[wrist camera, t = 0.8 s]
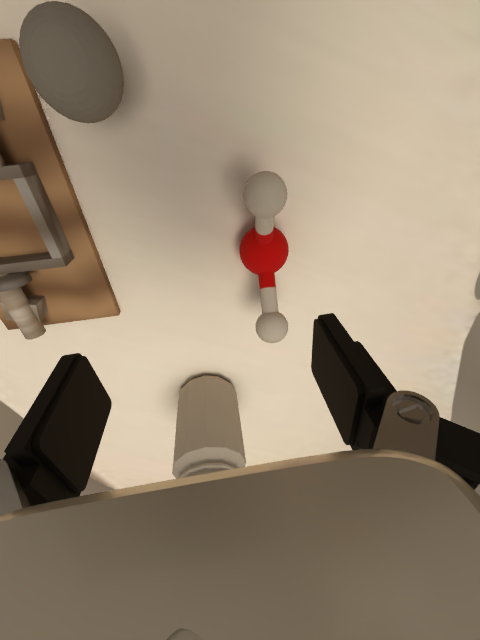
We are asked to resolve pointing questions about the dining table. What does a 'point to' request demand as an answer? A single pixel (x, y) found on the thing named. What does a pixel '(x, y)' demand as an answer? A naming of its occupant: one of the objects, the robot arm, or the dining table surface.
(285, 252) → the molecular model
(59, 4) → the light bulb
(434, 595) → the robot arm
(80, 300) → the shaft bench
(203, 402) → the jar
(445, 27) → the dining table surface
